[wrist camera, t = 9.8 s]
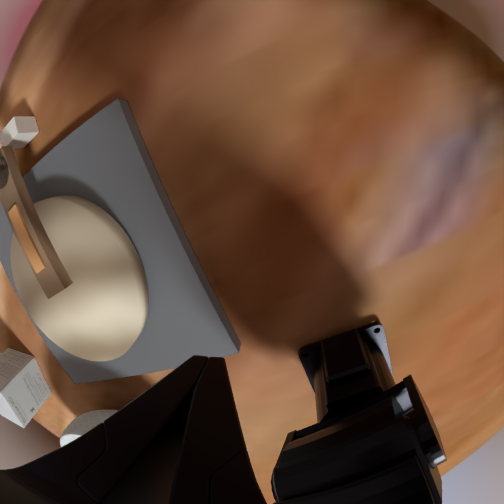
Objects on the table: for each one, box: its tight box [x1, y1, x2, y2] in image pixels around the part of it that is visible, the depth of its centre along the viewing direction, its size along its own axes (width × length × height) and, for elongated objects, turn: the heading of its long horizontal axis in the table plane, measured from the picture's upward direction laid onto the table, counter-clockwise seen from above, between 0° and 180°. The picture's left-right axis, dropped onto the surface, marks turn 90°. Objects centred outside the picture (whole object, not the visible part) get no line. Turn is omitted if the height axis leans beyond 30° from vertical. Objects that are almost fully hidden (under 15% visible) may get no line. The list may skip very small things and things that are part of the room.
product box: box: [0, 348, 52, 428], centre depth 24 cm, size 6×6×7 cm
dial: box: [0, 146, 149, 361], centre depth 16 cm, size 18×13×8 cm
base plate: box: [0, 99, 241, 384], centre depth 19 cm, size 23×19×2 cm
